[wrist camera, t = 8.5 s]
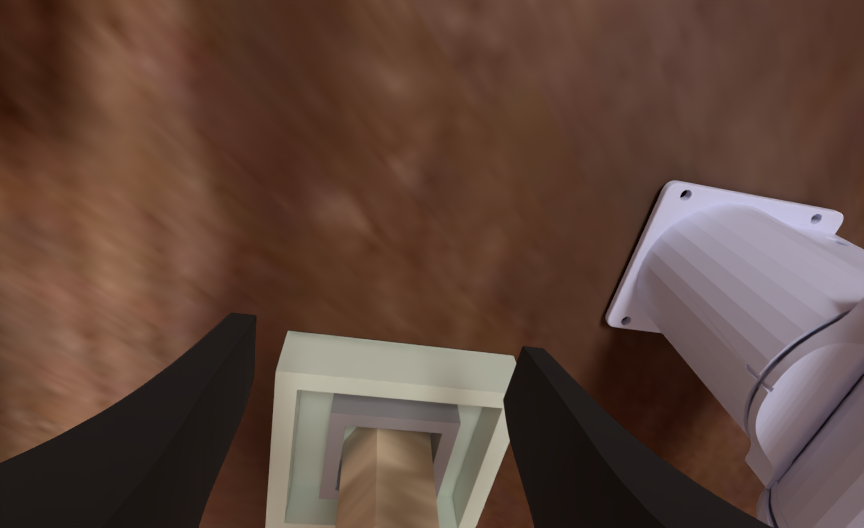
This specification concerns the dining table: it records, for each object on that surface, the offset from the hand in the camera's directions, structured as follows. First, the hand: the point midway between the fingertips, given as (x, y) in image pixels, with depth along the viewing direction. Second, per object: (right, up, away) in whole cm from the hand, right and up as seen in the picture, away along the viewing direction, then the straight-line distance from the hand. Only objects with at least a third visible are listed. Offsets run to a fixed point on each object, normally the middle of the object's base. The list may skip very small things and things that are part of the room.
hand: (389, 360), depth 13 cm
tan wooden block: (-1, -7, +14) cm, 16 cm away
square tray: (-1, -7, +15) cm, 16 cm away
